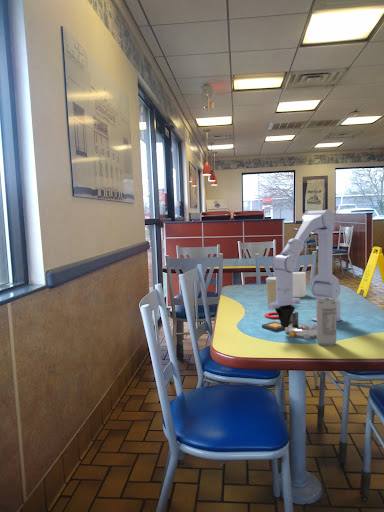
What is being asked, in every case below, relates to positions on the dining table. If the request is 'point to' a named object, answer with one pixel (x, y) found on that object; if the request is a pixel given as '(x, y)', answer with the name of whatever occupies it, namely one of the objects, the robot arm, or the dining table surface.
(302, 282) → the white upright block
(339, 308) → the robot arm
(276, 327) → the pad
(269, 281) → the coffee cup
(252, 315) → the dining table surface
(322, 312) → the energy drink can
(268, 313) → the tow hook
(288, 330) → the sprocket
